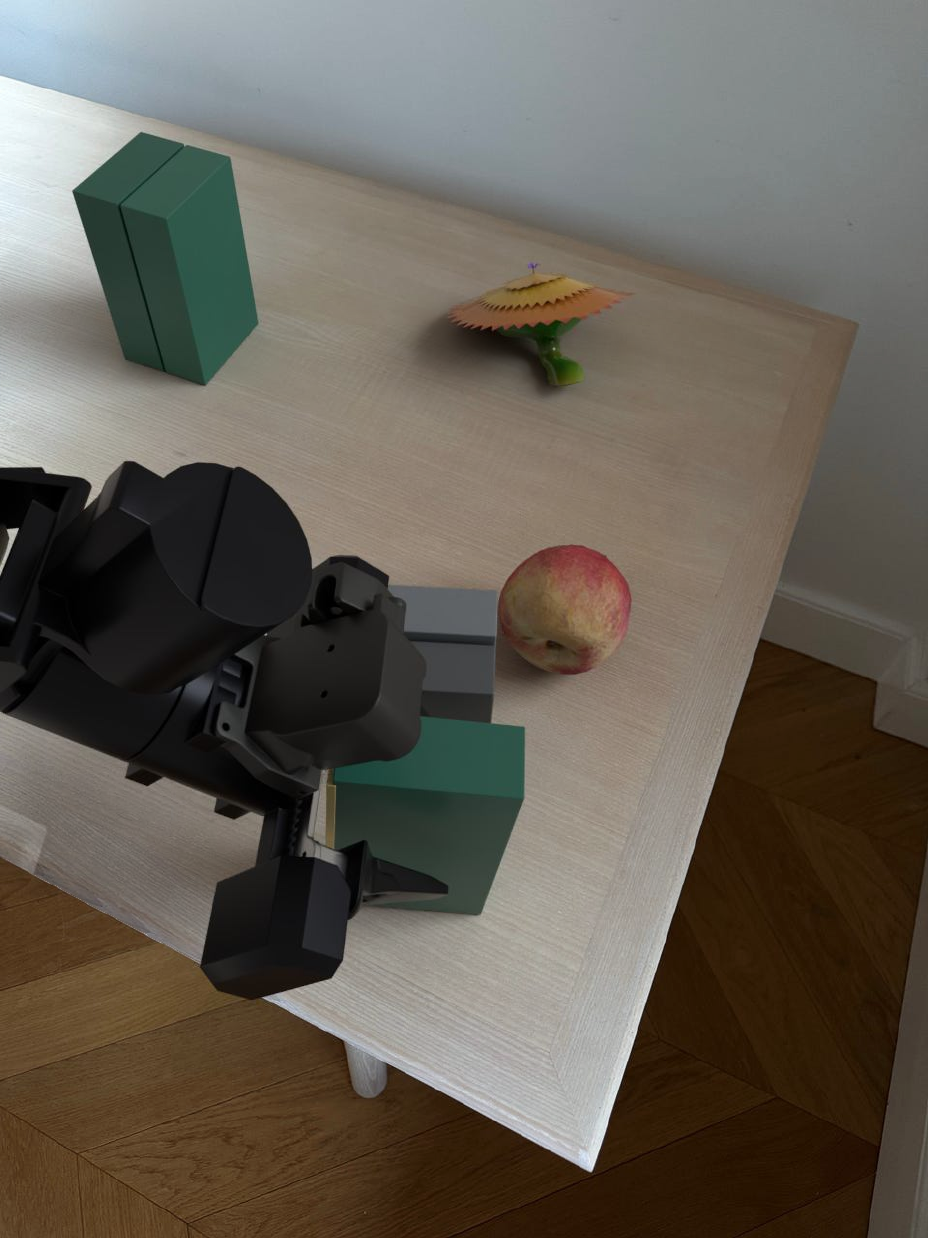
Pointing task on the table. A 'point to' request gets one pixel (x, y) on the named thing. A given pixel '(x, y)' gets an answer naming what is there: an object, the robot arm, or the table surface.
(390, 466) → the table surface
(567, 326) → the flower
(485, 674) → the grey grooved block
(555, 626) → the fruit
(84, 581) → the robot arm
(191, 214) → the green grooved box
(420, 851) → the green book
